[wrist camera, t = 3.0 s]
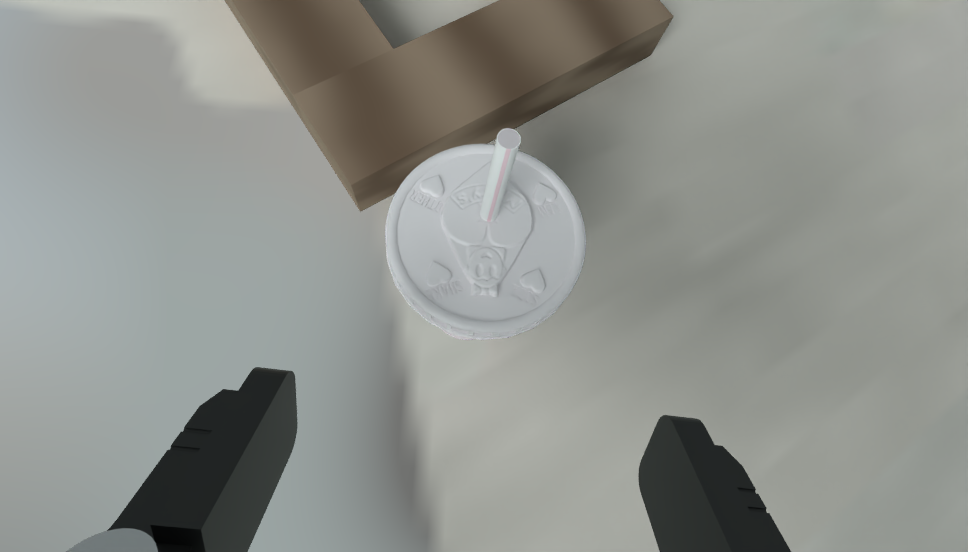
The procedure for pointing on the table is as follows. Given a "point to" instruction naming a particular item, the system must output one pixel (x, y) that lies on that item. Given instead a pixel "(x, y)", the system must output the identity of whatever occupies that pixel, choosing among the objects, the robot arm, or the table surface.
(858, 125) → the table surface
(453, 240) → the smoothie
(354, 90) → the caddy
